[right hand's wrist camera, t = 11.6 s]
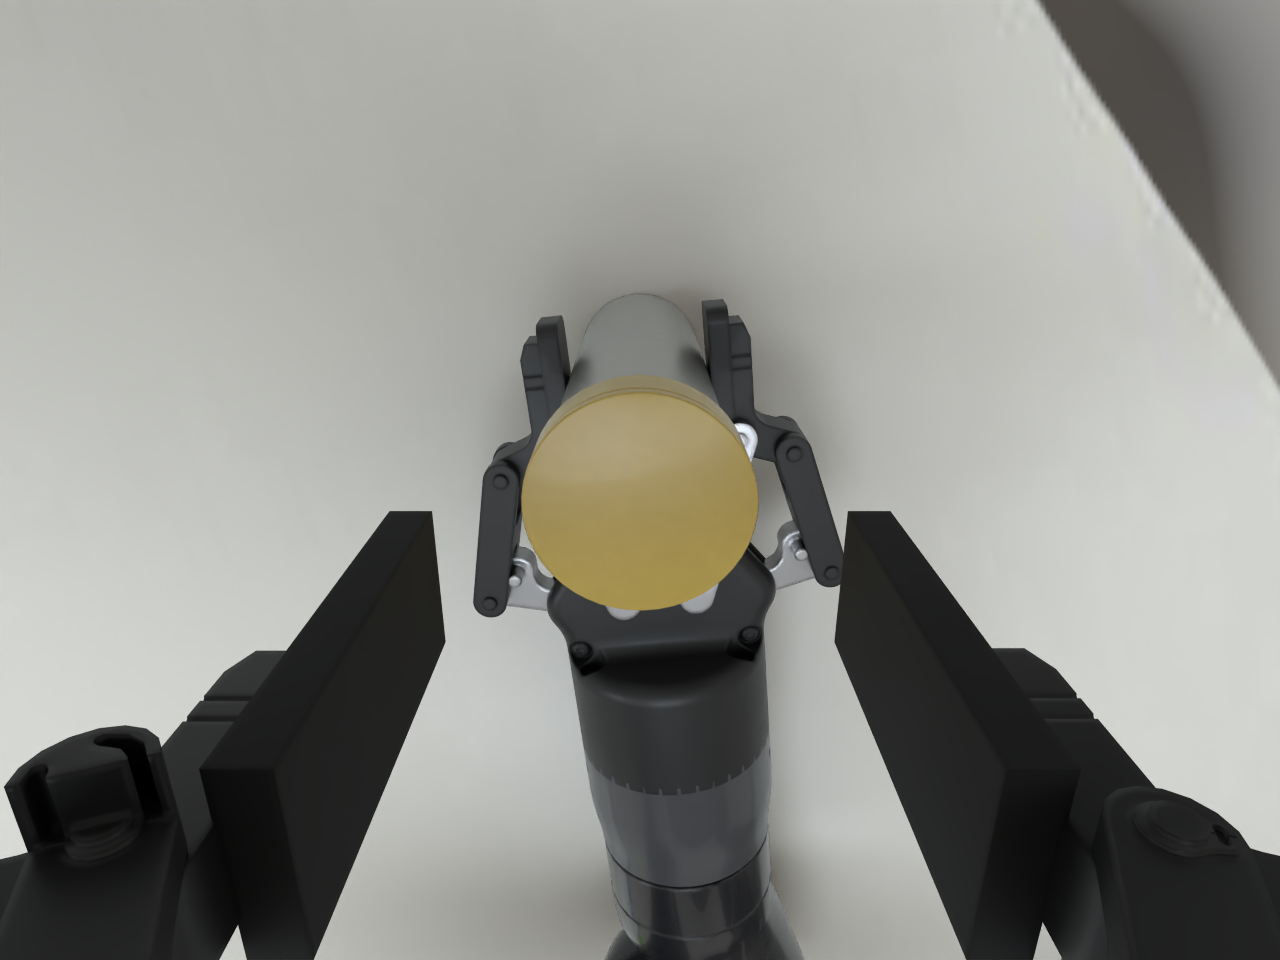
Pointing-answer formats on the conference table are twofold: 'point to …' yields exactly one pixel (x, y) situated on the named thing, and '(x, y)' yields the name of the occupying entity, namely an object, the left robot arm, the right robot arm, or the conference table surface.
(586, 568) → the lid
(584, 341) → the grey metal canister
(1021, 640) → the conference table surface
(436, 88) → the conference table surface
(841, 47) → the conference table surface
